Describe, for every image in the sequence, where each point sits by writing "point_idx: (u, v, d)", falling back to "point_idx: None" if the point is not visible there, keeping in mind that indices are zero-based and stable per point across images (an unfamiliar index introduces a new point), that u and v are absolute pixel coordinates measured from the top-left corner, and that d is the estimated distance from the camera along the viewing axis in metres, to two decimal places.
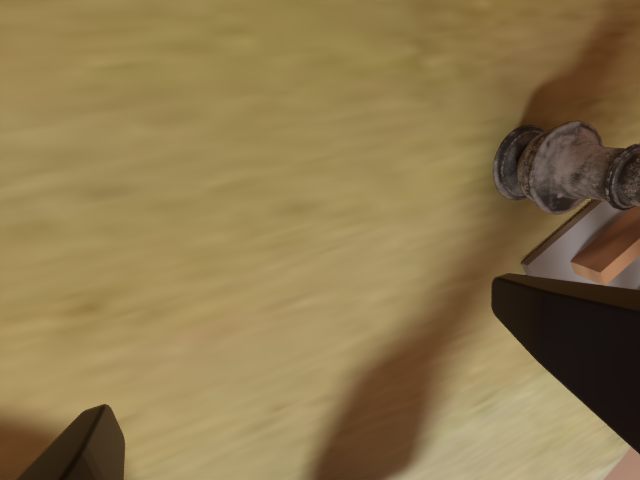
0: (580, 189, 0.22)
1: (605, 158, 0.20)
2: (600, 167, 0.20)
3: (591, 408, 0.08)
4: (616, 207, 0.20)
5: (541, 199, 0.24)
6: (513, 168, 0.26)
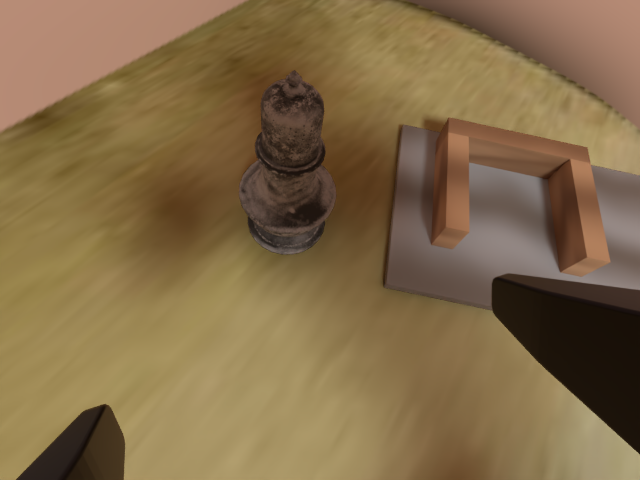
0: (283, 191, 0.20)
1: None
2: (263, 165, 0.20)
3: (591, 407, 0.08)
4: (301, 173, 0.18)
5: (285, 226, 0.21)
6: None
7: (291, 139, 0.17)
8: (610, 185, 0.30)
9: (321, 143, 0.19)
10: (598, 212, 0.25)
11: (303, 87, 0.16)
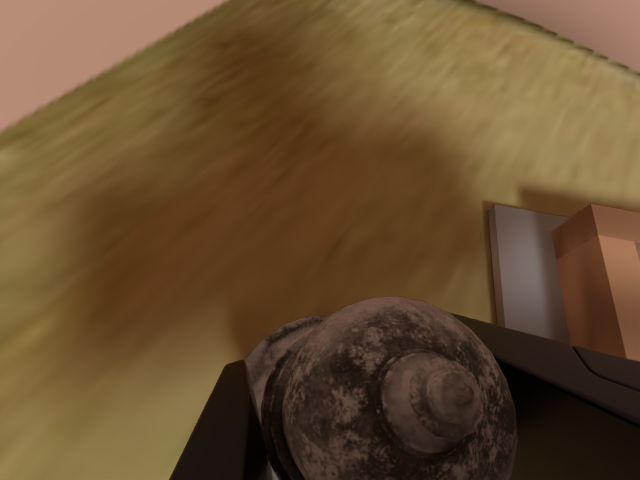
0: None
1: None
2: None
3: None
4: None
5: None
6: None
7: None
8: None
9: None
10: None
11: None
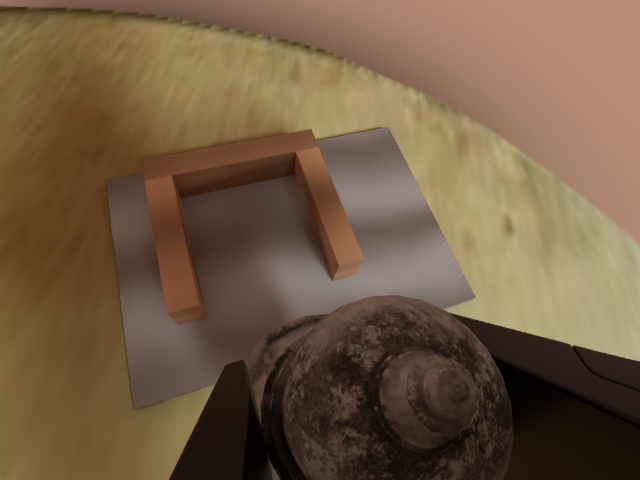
0: None
1: None
2: None
3: None
4: None
5: None
6: None
7: None
8: (359, 151, 0.27)
9: None
10: (338, 203, 0.22)
11: None
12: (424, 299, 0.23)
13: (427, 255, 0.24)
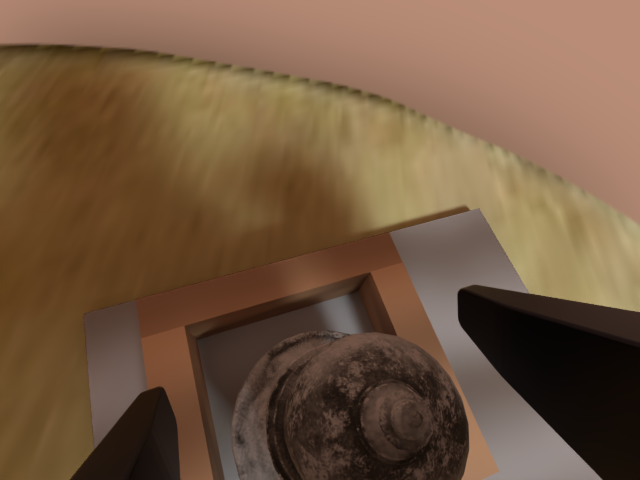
0: None
1: None
2: None
3: (551, 426, 0.07)
4: None
5: None
6: None
7: None
8: (445, 249, 0.19)
9: None
10: (445, 364, 0.14)
11: None
12: None
13: None
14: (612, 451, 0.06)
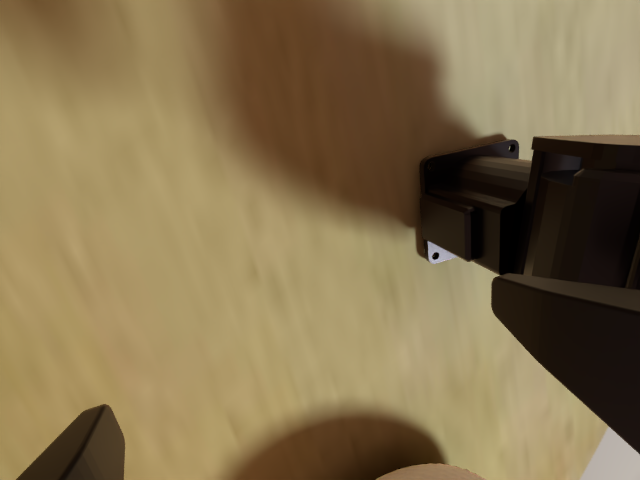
0: None
1: None
2: None
3: (591, 407, 0.08)
4: None
5: None
6: None
7: None
8: None
9: None
10: None
11: None
12: None
13: None
14: None
